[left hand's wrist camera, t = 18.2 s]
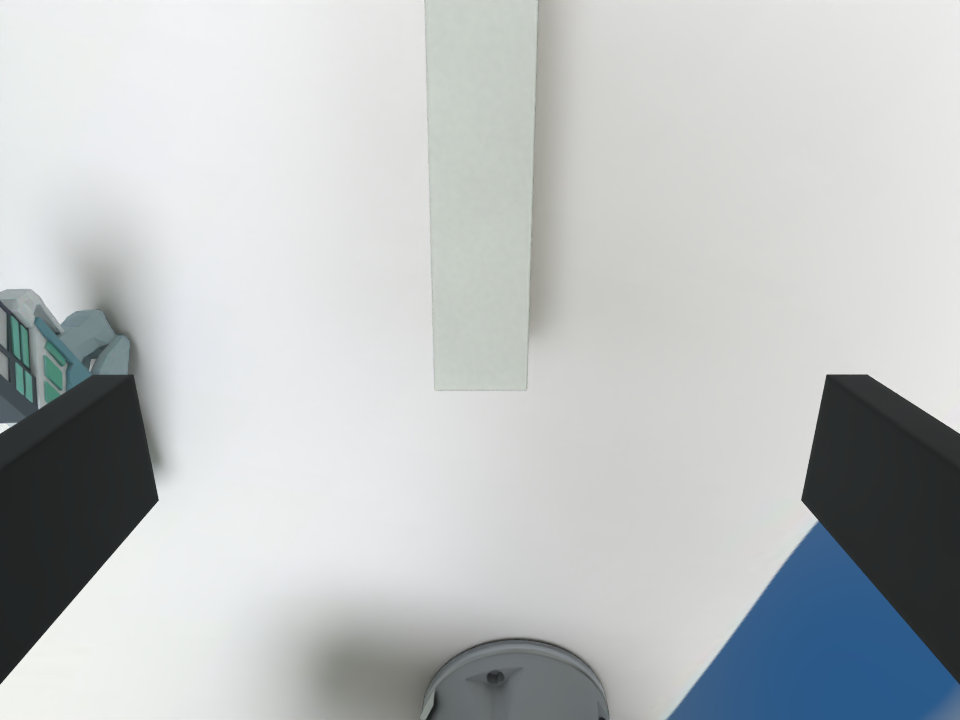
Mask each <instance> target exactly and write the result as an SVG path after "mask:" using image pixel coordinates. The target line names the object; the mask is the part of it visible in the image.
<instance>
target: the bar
mask: <svg viewBox="0 0 960 720" xmlns="http://www.w3.org/2000/svg"><path fill="white" fill-rule="evenodd" d="M538 3H539V0H425V32H426V72H427V113H428V153H429V193H430V234H431V274H432V315H433V355H434V389H435V390H436V391H526V390H527V374H528V340H529V306H530V273H531V239H532V205H533V172H534V138H535V104H536V71H537V37H538Z"/></svg>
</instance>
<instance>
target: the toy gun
mask: <svg viewBox="0 0 960 720" xmlns="http://www.w3.org/2000/svg"><path fill="white" fill-rule="evenodd" d="M129 350H130V341H129V340H128V339H127V337H126V336H125V335H116V334H115V333H114V331H113V330H112V328H111V327H110V325H109V324H108V322H107V319H106V317H105V315H104V313H103V312H102V311H100V310H84V311H77V312H75V313H73V314H71V315H70V316H68V317H67V318H66V320H65V321H64V322H63V323H62V324H61V325H60V324H59V323H58V321H57V320H56V319H55V317H54V316H53V315H52V313H51V312H50V311H49V309H48V308H47V307H46V305H45V304H44V302H43V301H42V299H41V298H40V297H39V295H37V294H36V293H35V292H34V291H33V290H31V289H9V290H5V291H2V292H0V423H6V424H8V425H9V426H10V427H12V426H13V425H15V424H16V423H18V422H20V421H21V420H23V419H24V418H26V417H27V416H29V415H31V414H32V413H34V412H35V411H37V410H38V409H40V408H41V407H43V406H45V405H46V404H48V403H49V402H51V401H52V400H54V399H56V398H57V397H59V396H60V395H62V394H63V393H65V392H66V391H68V390H70V389H71V388H73V387H74V386H76V385H77V384H79V383H81V382H82V381H84V380H85V379H87V378H88V377H90V376H91V375H127V374H128V363H129ZM93 358H97V360H96V362H95V364H94V365H93V367H92V369H91V371H90V372H89V368H90V362H91V359H93Z"/></svg>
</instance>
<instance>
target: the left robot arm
mask: <svg viewBox="0 0 960 720" xmlns="http://www.w3.org/2000/svg"><path fill="white" fill-rule="evenodd" d="M158 501H159V499H158V494H157V489H156V484H155V479H154V474H153V469H152V464H151V460H150V455H149V450H148V445H147V440H146V435H145V430H144V425H143V420H142V415H141V410H140V405H139V400H138V395H137V390H136V385H135V380H134V375H91V376H90V377H88V378H87V379H85V380H84V381H82V382H81V383H79V384H77V385H76V386H74V387H73V388H71V389H70V390H68V391H66V392H65V393H63V394H62V395H60V396H59V397H57V398H56V399H54V400H52V401H51V402H49V403H48V404H46V405H45V406H43V407H41V408H40V409H38V410H37V411H35V412H34V413H32V414H31V415H29V416H27V417H26V418H24V419H23V420H21V421H20V422H18V423H16V424H15V425H13V426H12V427H10V428H9V429H7V430H6V431H4V432H2V433H1V434H0V684H1V683H2V682H3V681H4V679H5V678H6V677H7V676H8V675H9V674H10V672H11V671H12V670H13V669H14V668H15V667H16V666H17V664H18V663H19V662H20V661H21V660H22V659H23V657H24V656H25V655H26V654H27V653H28V652H29V650H30V649H31V648H32V647H33V646H34V645H35V643H36V642H37V641H38V640H39V639H40V638H41V636H42V635H43V634H44V633H45V632H46V631H47V629H48V628H49V627H50V626H51V625H52V624H53V623H54V621H55V620H56V619H57V618H58V617H59V616H60V614H61V613H62V612H63V611H64V610H65V609H66V607H67V606H68V605H69V604H70V603H71V602H72V600H73V599H74V598H75V597H76V596H77V595H78V593H79V592H80V591H81V590H82V589H83V588H84V586H85V585H86V584H87V583H88V582H89V581H90V580H91V578H92V577H93V576H94V575H95V574H96V573H97V571H98V570H99V569H100V568H101V567H102V566H103V564H104V563H105V562H106V561H107V560H108V559H109V557H110V556H111V555H112V554H113V553H114V552H115V550H116V549H117V548H118V547H119V546H120V545H121V544H122V542H123V541H124V540H125V539H126V538H127V537H128V535H129V534H130V533H131V532H132V531H133V530H134V528H135V527H136V526H137V525H138V524H139V523H140V521H141V520H142V519H143V518H144V517H145V516H146V514H147V513H148V512H149V511H150V510H151V509H152V507H153V506H154V505H155V504H156V503H157V502H158ZM801 501H802V502H803V503H804V504H805V505H806V506H807V507H808V509H809V510H810V511H811V512H812V513H813V514H814V516H815V517H816V518H817V519H818V520H819V521H820V523H821V524H822V525H823V526H824V527H825V528H826V530H827V531H828V532H829V533H830V534H831V535H832V537H833V538H834V539H835V540H836V541H837V542H838V543H839V545H840V546H841V547H842V548H843V549H844V550H845V552H846V553H847V554H848V555H849V556H850V557H851V559H852V560H853V561H854V562H855V563H856V564H857V566H858V567H859V568H860V569H861V570H862V571H863V573H864V574H865V575H866V576H867V577H868V578H869V580H870V581H871V582H872V583H873V584H874V585H875V586H876V588H877V589H878V590H879V591H880V592H881V593H882V595H883V596H884V597H885V598H886V599H887V600H888V602H889V603H890V604H891V605H892V606H893V607H894V609H895V610H896V611H897V612H898V613H899V614H900V615H901V617H902V618H903V619H904V620H905V621H906V623H907V624H908V625H909V626H910V627H911V628H912V629H913V631H914V632H915V633H916V634H917V635H918V636H919V638H920V639H921V640H922V641H923V642H924V643H925V645H926V646H927V647H928V648H929V649H930V650H931V652H932V653H933V654H934V655H935V656H936V657H937V659H938V660H939V661H940V662H941V663H942V664H943V665H944V667H945V668H946V669H947V670H948V671H949V672H950V674H951V675H952V676H953V677H954V678H955V679H956V681H957V682H958V683H959V684H960V434H959V433H958V432H956V431H954V430H953V429H951V428H950V427H948V426H947V425H945V424H944V423H942V422H940V421H939V420H937V419H936V418H934V417H933V416H931V415H929V414H928V413H926V412H925V411H923V410H922V409H920V408H919V407H917V406H915V405H914V404H912V403H911V402H909V401H908V400H906V399H904V398H903V397H901V396H900V395H898V394H897V393H895V392H894V391H892V390H890V389H889V388H887V387H886V386H884V385H883V384H881V383H879V382H878V381H876V380H875V379H873V378H872V377H870V376H869V375H826V380H825V385H824V390H823V395H822V400H821V405H820V410H819V415H818V420H817V425H816V430H815V435H814V440H813V445H812V450H811V455H810V460H809V464H808V469H807V474H806V479H805V484H804V489H803V494H802V499H801ZM420 720H609V711H608V706H607V701H606V697H605V693H604V690H603V687H602V685H601V683H600V681H599V679H598V678H597V676H596V675H595V674H594V672H593V671H592V670H591V669H590V668H589V667H588V666H587V665H586V664H585V663H584V662H583V661H581V660H580V659H579V658H577V657H576V656H574V655H573V654H571V653H569V652H567V651H565V650H563V649H560V648H558V647H555V646H552V645H549V644H545V643H541V642H535V641H527V640H506V641H498V642H492V643H488V644H484V645H481V646H478V647H475V648H472V649H470V650H468V651H465V652H464V653H462V654H460V655H458V656H457V657H455V658H454V659H452V660H451V661H449V662H448V663H447V664H446V665H444V666H443V667H442V668H441V669H440V670H439V672H438V673H437V674H436V675H435V677H434V678H433V680H432V681H431V683H430V685H429V687H428V689H427V691H426V694H425V698H424V703H423V712H422V713H421V715H420Z"/></svg>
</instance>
